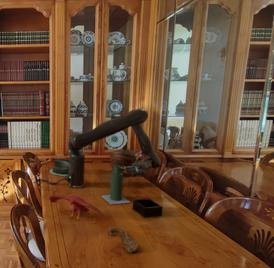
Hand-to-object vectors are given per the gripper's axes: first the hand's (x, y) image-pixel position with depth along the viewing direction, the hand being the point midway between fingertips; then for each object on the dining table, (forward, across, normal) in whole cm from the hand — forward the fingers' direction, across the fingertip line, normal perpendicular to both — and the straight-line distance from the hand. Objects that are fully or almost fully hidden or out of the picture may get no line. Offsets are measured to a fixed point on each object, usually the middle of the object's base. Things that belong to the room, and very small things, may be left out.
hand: (125, 173), depth 130 cm
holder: (+11, +17, +12) cm, 24 cm away
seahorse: (+41, +22, +13) cm, 48 cm away
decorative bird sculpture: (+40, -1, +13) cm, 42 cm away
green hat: (-6, -52, +13) cm, 53 cm away
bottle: (+9, 0, +12) cm, 15 cm away
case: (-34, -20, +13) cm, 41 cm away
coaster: (+9, 0, +13) cm, 16 cm away
